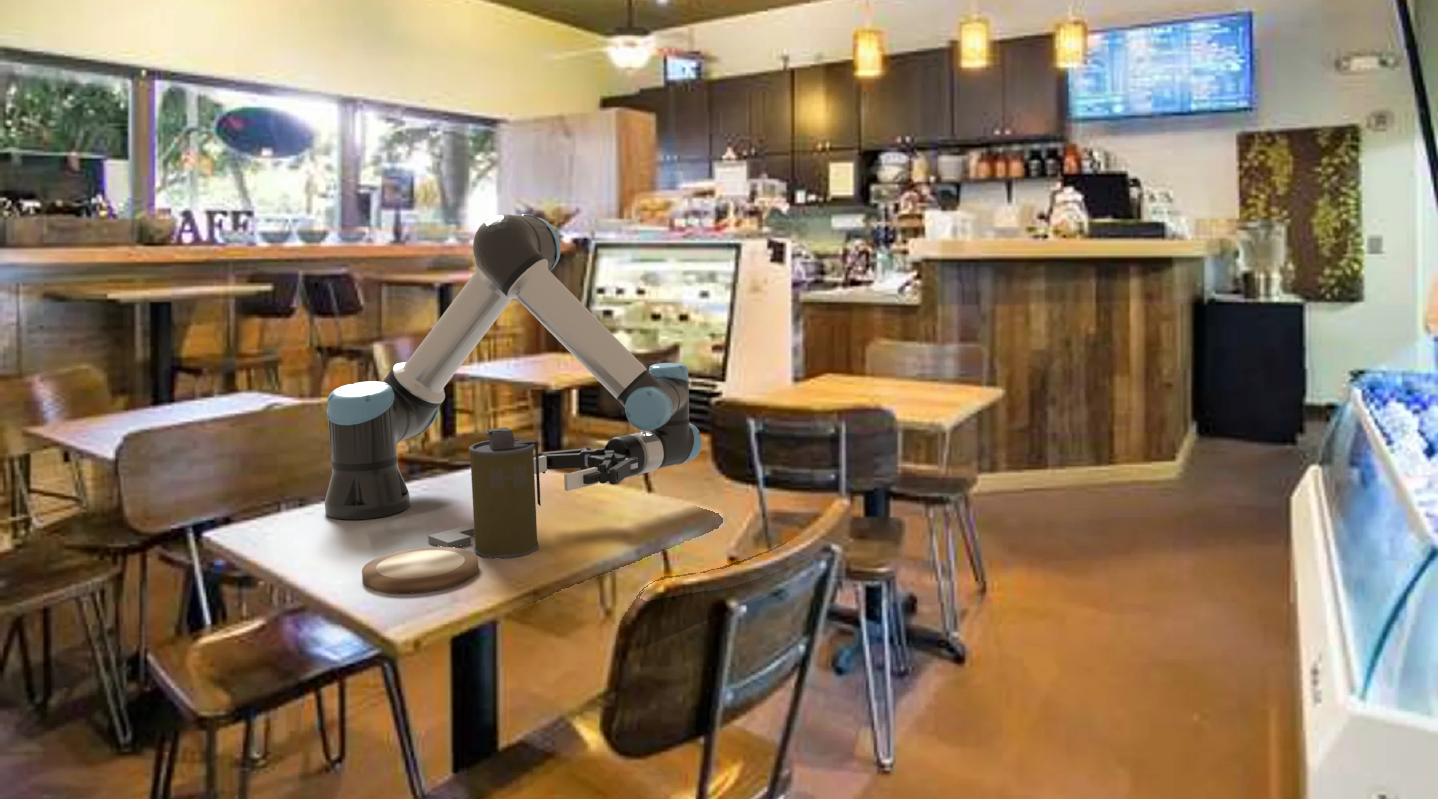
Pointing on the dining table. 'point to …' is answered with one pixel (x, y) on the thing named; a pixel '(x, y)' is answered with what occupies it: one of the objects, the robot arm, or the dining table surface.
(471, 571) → the beige plate
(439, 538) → the notched board
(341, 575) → the dining table surface
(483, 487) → the canister
